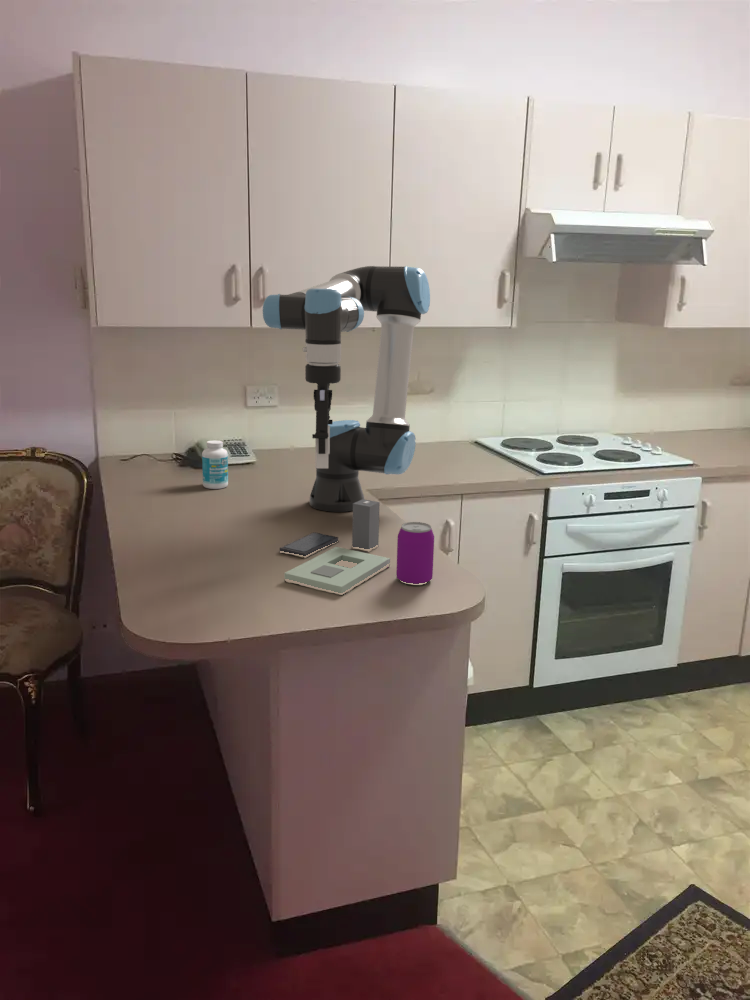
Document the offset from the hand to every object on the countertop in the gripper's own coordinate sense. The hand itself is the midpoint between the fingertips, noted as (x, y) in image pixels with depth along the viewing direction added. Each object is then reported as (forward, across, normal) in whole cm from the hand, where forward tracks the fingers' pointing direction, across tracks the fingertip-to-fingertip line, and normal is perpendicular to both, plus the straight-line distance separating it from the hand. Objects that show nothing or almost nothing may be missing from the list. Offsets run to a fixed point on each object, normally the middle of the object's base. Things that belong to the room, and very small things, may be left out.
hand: (322, 460), depth 179 cm
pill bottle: (+23, -59, -33) cm, 72 cm away
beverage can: (+22, +15, +20) cm, 33 cm away
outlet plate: (+22, +12, +4) cm, 25 cm away
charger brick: (+22, -5, +10) cm, 25 cm away
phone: (+22, -5, -3) cm, 23 cm away
